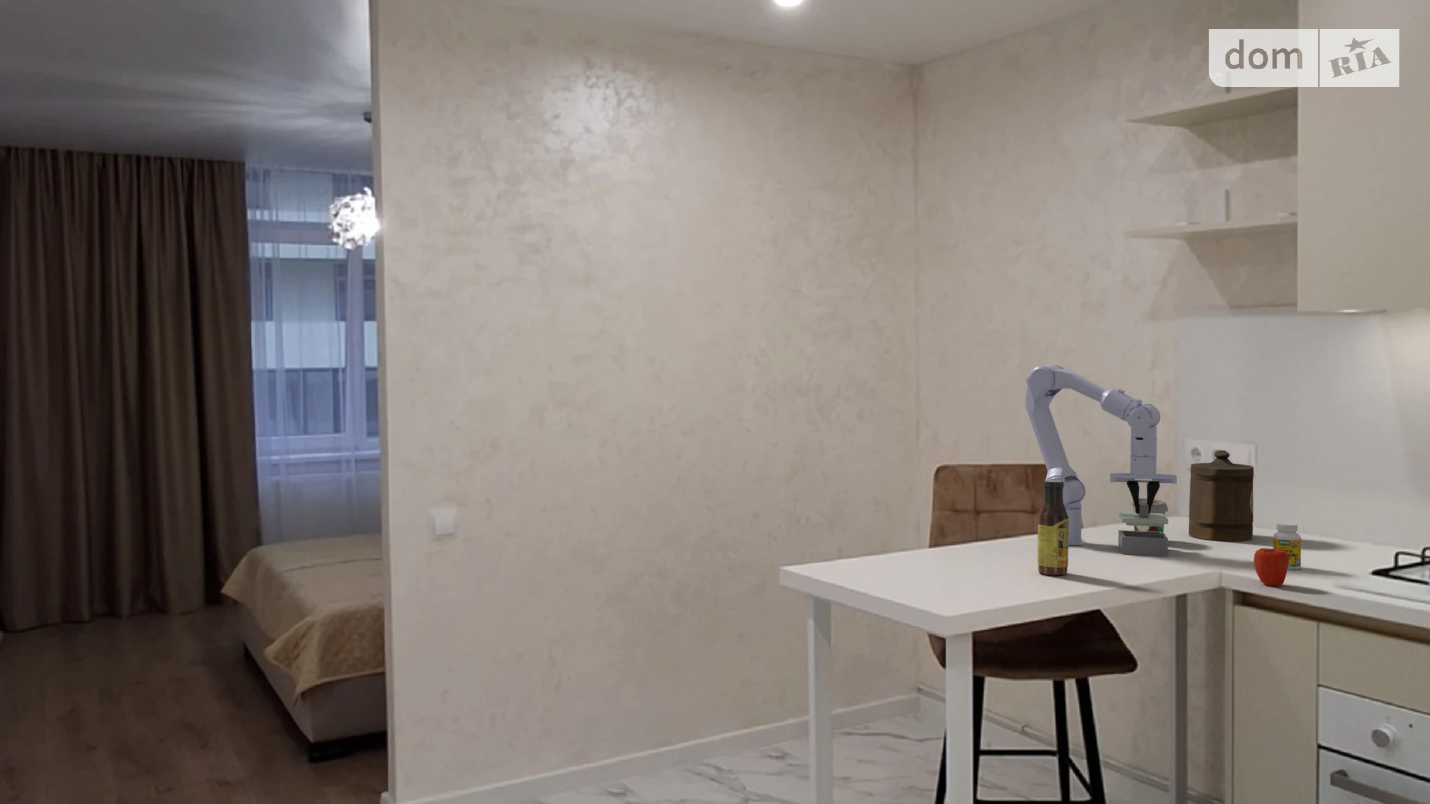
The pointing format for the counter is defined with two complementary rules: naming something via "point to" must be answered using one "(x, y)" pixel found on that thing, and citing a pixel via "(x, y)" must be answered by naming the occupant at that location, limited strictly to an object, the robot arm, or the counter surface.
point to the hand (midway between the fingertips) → (1142, 513)
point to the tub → (1143, 542)
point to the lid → (1143, 517)
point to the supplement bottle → (1289, 543)
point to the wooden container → (1221, 500)
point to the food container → (1156, 507)
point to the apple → (1271, 566)
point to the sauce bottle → (1053, 531)
